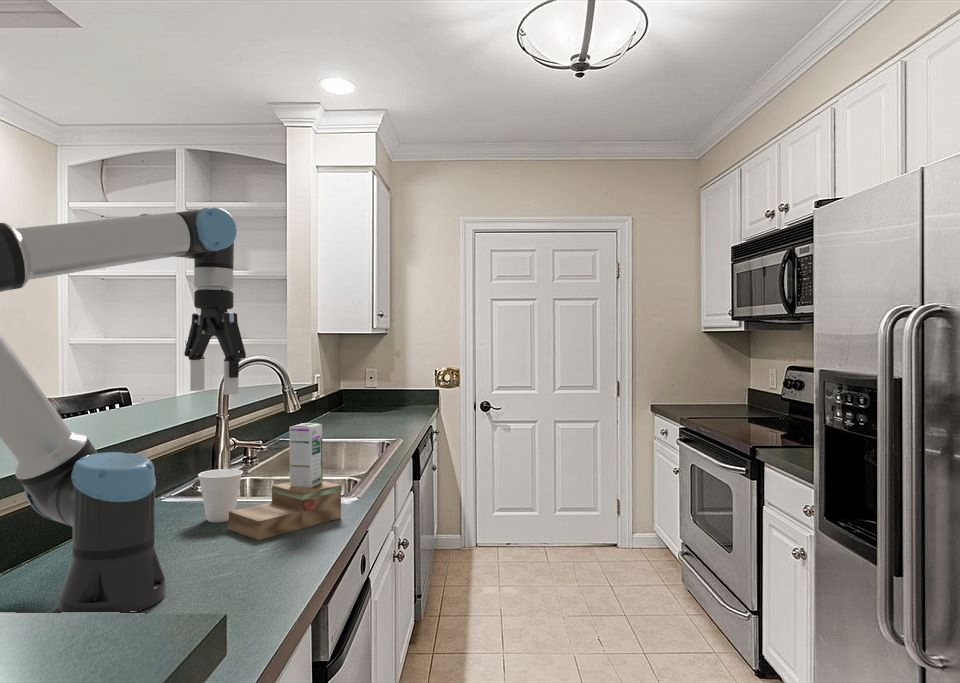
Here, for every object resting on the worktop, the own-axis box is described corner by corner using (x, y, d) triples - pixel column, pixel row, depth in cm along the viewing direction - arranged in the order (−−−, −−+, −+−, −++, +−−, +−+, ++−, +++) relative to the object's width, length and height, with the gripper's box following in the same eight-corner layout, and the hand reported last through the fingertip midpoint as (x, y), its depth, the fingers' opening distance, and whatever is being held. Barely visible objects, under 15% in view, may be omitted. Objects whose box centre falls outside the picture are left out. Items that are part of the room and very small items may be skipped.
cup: (191, 518, 154) (191, 472, 154) (233, 511, 161) (233, 467, 161) (206, 527, 147) (206, 479, 147) (249, 520, 154) (249, 473, 154)
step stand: (260, 540, 138) (260, 503, 138) (228, 529, 146) (228, 493, 146) (343, 518, 155) (343, 485, 155) (310, 509, 163) (310, 477, 163)
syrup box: (311, 488, 152) (311, 426, 152) (288, 486, 153) (289, 425, 153) (323, 483, 157) (323, 423, 157) (300, 481, 159) (301, 422, 159)
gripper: (264, 288, 130) (263, 394, 130) (201, 293, 145) (201, 388, 145) (229, 285, 124) (228, 397, 124) (167, 291, 140) (167, 390, 140)
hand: (213, 392), depth 135 cm, fingers open, 13 cm apart
